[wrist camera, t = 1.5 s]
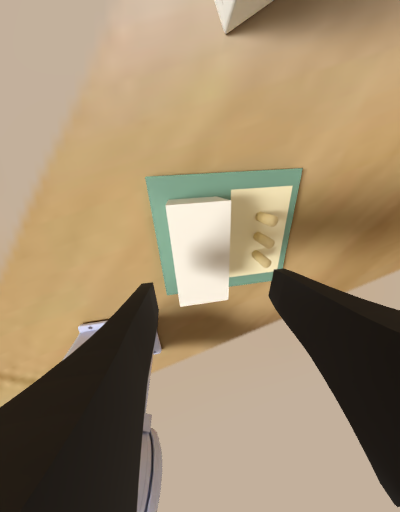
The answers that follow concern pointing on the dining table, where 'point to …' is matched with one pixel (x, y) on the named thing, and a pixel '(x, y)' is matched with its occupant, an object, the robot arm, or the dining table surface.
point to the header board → (234, 218)
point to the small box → (237, 11)
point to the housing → (200, 248)
